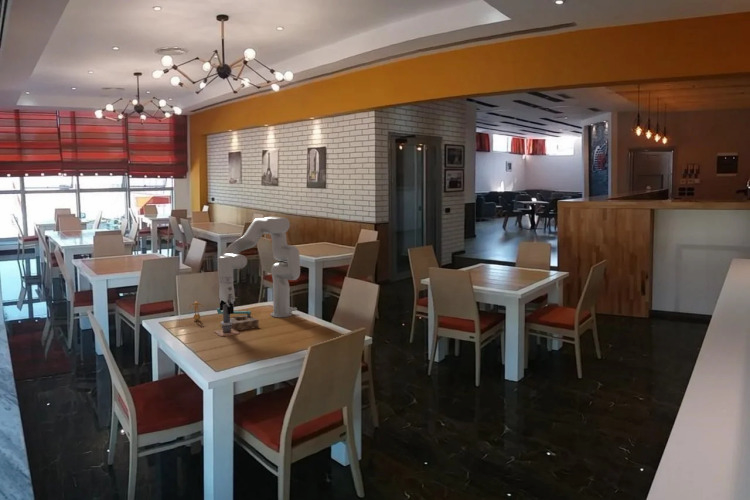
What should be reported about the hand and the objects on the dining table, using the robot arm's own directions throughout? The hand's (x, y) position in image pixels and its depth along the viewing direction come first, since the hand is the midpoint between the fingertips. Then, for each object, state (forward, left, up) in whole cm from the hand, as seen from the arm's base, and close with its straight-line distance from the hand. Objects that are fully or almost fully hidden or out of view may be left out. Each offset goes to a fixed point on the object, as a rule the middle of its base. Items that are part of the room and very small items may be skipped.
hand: (226, 311), depth 299 cm
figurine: (+4, -33, -11) cm, 35 cm away
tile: (0, 0, -11) cm, 11 cm away
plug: (0, 0, -11) cm, 11 cm away
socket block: (-12, -9, -11) cm, 19 cm away
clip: (-11, -17, -6) cm, 21 cm away
